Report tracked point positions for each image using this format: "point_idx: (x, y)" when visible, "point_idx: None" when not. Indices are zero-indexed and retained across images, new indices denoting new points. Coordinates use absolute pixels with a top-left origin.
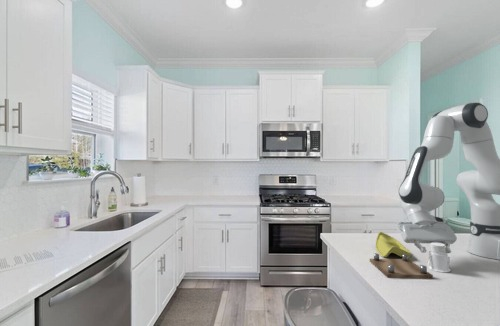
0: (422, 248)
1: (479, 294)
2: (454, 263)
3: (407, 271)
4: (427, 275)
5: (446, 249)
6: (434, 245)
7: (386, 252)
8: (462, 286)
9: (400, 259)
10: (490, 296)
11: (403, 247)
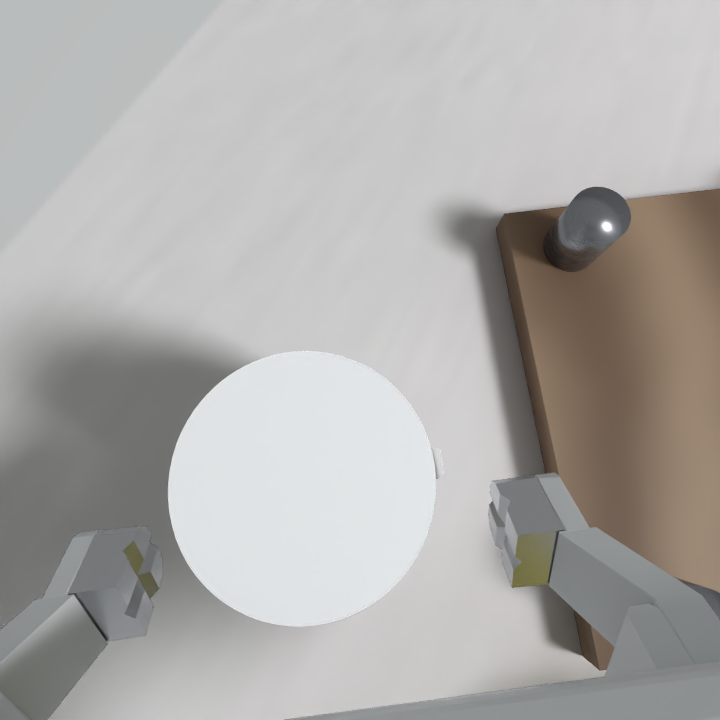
0: (565, 498)
1: (296, 26)
2: None
3: (709, 259)
4: (549, 210)
5: (128, 563)
6: (406, 400)
7: None
8: (335, 124)
9: None
10: (242, 12)
11: None
